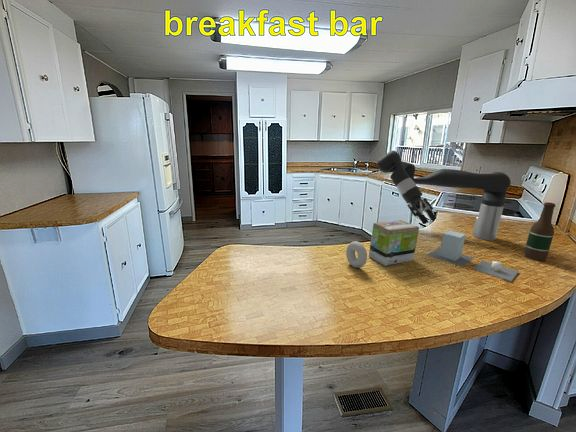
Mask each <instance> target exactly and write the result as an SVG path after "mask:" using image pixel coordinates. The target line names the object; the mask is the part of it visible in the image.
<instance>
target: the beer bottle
mask: <svg viewBox="0 0 576 432" xmlns="http://www.w3.org/2000/svg"><path fill="white" fill-rule="evenodd" d="M555 208H556V203H553V202H548V201H547V202H544V203H543V208H542V211H541V213H540V216H539V218H538V220H537V221H536V222H534V223H533V224H532V225H531V227H530V230H529V232H528V237H527V240H526V243H525V247H524V250H523V251H524V252H523V255H524V257H526V258H527V259H529V260H533V261H538V262H540V261H541V262H542V261H546V260H547V258H548V254H549V251H550V250H551V249H550V248H551V245H552V241H553V238H554V234H555V229H554V226H553V224H552V220H553V215H554V210H555Z"/></svg>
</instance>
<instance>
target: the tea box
mask: <svg viewBox="0 0 576 432" xmlns="http://www.w3.org/2000/svg"><path fill="white" fill-rule="evenodd" d="M419 232H420V227H419V226H418V225H415V224H413V223H409V222H407V221H404V220H402V219H400V220H399V219H398V220H390V221H382V222H381V221H380V222H373V225H372V231H371V238H370V244H369V245H370V246H369V250H368V257H369V258H371V259H372V260H374V261H376V262H378V263H379V264H381V265H382V266H385V267H386V266H390V265H396V264H400V263H405V262H406V263H407V262H409V261H413V260H414V257H415V253H416V246H417V243H418V236H419Z"/></svg>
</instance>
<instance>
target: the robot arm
mask: <svg viewBox="0 0 576 432" xmlns="http://www.w3.org/2000/svg"><path fill="white" fill-rule="evenodd" d="M376 166H377V168H378V170H379V171H380V172H382V173H385V174H389V173H391V175H390V180H391V181H392V183H393V184H394V186H395V187H396V189H397V191H398V192H399V194H400V195H401V197H402V198H403V200H404V201H405V203H406V204H407V207H408V209H409V210H410V211H411V214H412V215H413V216H414V217H417V218H419V220H420V221H421V223H422V224H423V225H426V224H427V223H428V222H429V220H428V218H427V217H426V215H427V216H428V217H429V219H430V220H431V221H432V222H433V221H435V220H436V219H437V218H438V217H437V216H436V215H435V213H434V212H433V210H434V208H433V206H432V205H431V202H429V201H428V199H427V198H426V197H424V198H422V196H423V193H422V191H421V189H420V188H419V187H418V185H426V186H434V187H435V186H436V187H442V188H443V187H444V188H453V189H454V188H455V189H456V188H457V189H476V190H477V189H478V190H483V191H482V197H481V201H480V202H481V203H480V207H479V212H478V216H476V217H475V222H474V225H473V231H472V235H473V236H474V237H475V238H477V239H481V240H485V241H495V240H496V239H497V235H498V231H499V226H500V222H501V218H502V215H503V211H504V207H505V202H506V200H505V199H506V194H507V191H508V188H510V186H511V185H512V184H511V179H510V177H509V175H508V174H506V173H504V172H501V171H494V172H491V173H478V172H477V173H476V172H475V173H474V172H470V171H466V170H462V169H455V168H454V169H451V168H440V169H438V170H436V171H434V172H431V173H430V174H427V175H425V176H424V175H423V176H421V177H415V175H416V174H415V173H416V166H415V165H414V164H413V163H411V162H406V161H402V159H401V155H400V154H399V152H398V151H396V150H390V151H388V152H387V153H386V154H385V155H383V156H382V157H380V158H379V159H378V160H377V162H376ZM423 212H425V213H426V215H425V214H424V213H423Z"/></svg>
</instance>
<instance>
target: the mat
mask: <svg viewBox="0 0 576 432" xmlns="http://www.w3.org/2000/svg"><path fill="white" fill-rule="evenodd" d="M439 252H440V247H438V248H436V249H434V250H432V251H431V252H428V253H426V254H425V257H430V258H433V259H436V260H440V261H442V262H445V263H448V264H452V265H456V266H459V267H461V268H463V267H464V266H466V265H467V264H468V263H470V262H471V261H472V260H474V257H473V256H469V255H465V254H463V253H462V254H461V257H460V258H459V259H457V260H456V261H454V260H450V259H447V258H444V257H441V256H439Z"/></svg>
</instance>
